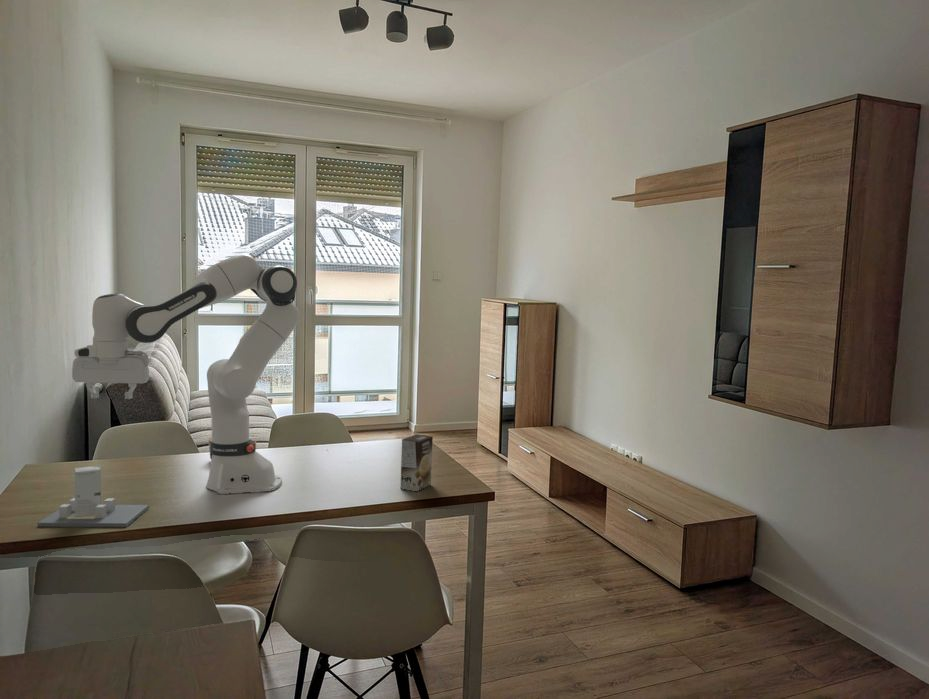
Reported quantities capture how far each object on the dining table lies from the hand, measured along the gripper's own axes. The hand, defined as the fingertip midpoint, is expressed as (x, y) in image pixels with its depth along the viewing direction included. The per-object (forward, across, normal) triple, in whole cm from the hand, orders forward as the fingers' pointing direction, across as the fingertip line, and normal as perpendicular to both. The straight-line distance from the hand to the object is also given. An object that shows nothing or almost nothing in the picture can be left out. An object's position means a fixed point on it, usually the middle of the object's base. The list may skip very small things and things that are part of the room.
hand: (111, 398), depth 189 cm
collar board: (+29, -3, +17) cm, 34 cm away
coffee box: (+29, -88, -12) cm, 93 cm away
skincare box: (+28, -1, +17) cm, 33 cm away
